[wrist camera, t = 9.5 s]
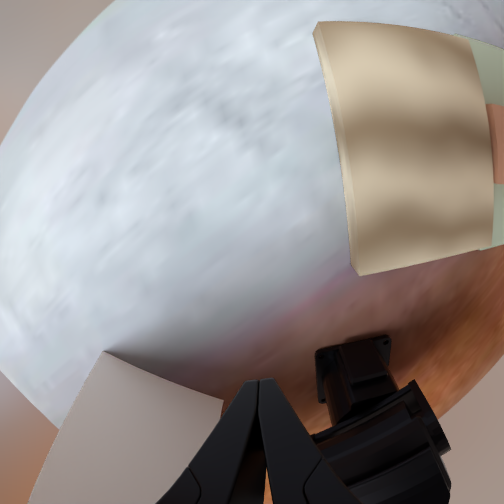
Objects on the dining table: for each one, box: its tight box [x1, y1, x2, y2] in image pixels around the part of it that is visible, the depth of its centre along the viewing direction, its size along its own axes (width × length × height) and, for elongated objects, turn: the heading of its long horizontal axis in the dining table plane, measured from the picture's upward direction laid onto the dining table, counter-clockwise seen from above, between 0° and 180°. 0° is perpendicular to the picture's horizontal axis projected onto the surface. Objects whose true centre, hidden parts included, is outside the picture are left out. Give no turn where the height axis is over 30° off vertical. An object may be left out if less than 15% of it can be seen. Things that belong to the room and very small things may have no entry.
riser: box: [313, 21, 494, 276], centre depth 15 cm, size 16×12×2 cm
